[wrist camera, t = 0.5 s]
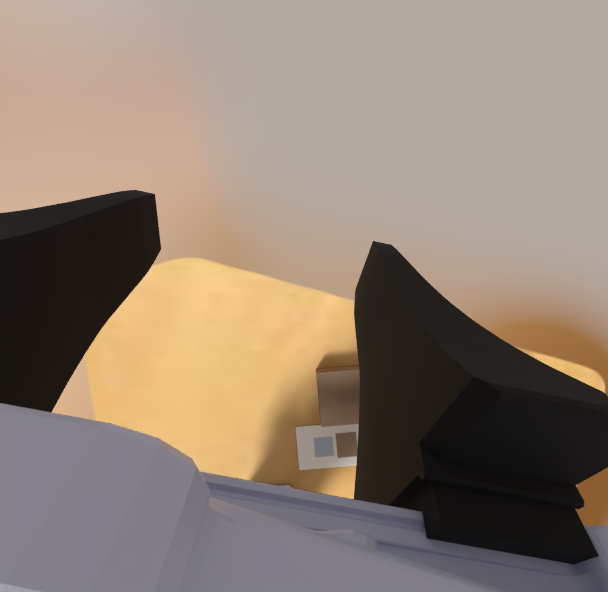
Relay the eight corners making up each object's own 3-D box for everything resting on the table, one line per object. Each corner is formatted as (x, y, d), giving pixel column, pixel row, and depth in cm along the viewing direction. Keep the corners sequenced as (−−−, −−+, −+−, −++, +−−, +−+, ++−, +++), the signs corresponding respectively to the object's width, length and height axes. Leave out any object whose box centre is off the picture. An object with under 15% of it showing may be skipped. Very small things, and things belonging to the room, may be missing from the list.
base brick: (371, 415, 37) (375, 422, 35) (320, 420, 38) (321, 426, 36) (366, 364, 38) (370, 368, 36) (316, 369, 38) (316, 373, 36)
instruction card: (367, 463, 37) (367, 464, 37) (299, 469, 37) (299, 470, 37) (363, 420, 37) (363, 421, 37) (295, 426, 38) (295, 427, 37)
